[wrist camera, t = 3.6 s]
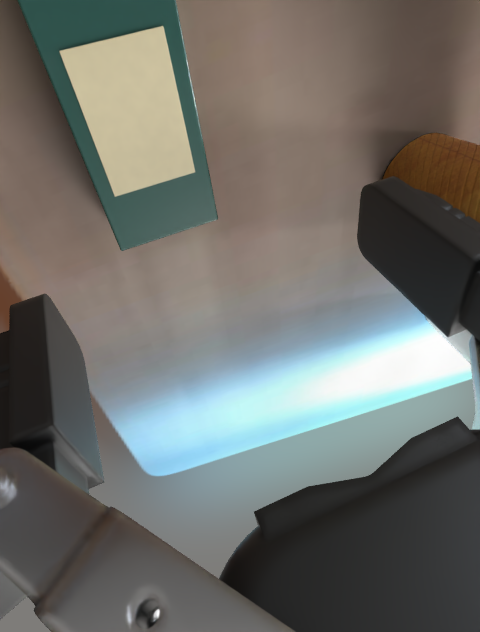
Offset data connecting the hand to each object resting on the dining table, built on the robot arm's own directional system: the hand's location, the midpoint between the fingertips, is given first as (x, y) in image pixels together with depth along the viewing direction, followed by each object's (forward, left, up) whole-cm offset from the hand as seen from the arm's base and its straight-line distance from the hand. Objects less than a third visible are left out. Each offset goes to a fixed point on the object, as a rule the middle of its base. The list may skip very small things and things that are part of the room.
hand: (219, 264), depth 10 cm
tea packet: (0, 0, -14) cm, 14 cm away
